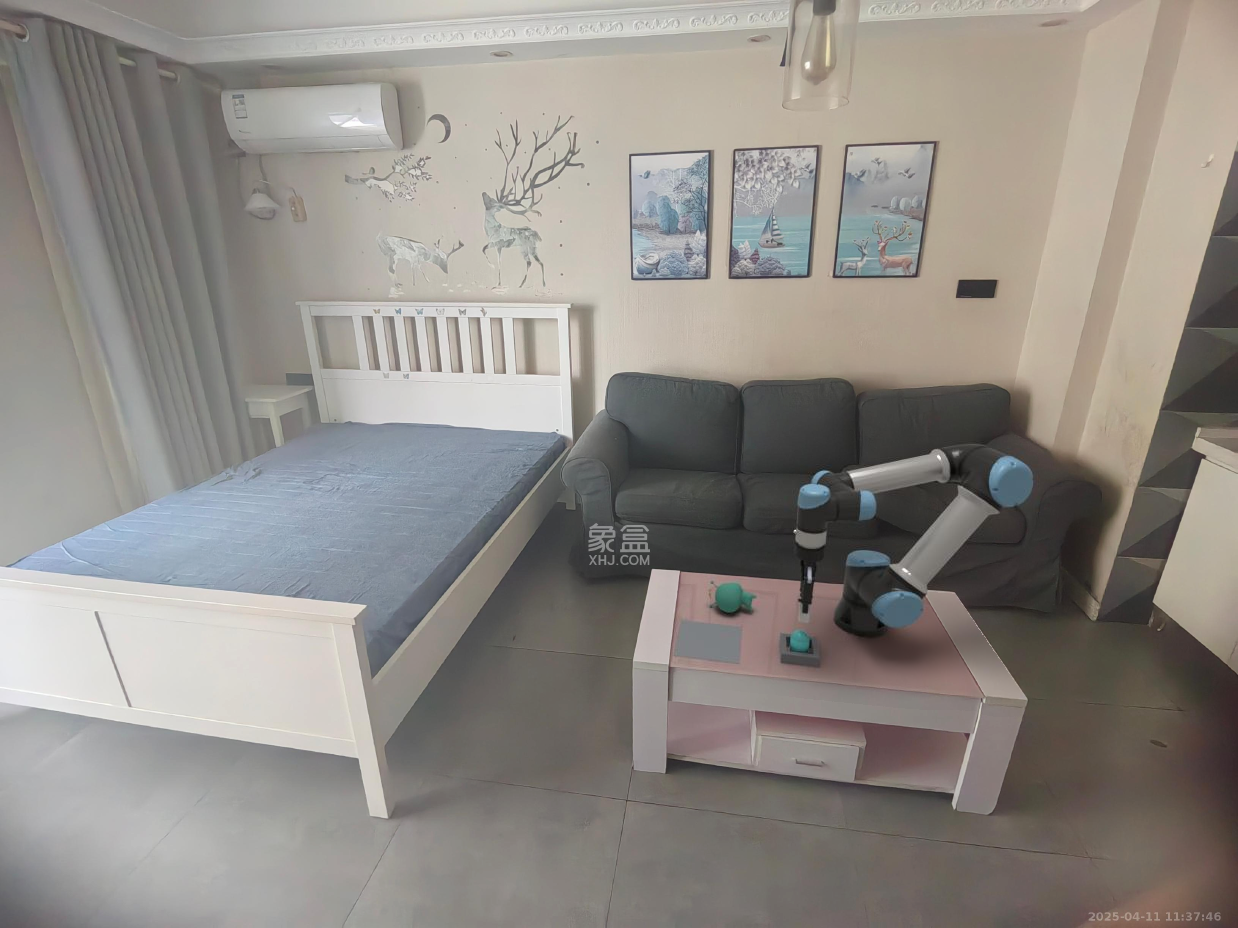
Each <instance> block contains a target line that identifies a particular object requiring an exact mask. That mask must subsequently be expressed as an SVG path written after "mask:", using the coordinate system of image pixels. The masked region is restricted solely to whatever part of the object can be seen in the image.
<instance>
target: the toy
mask: <svg viewBox="0 0 1238 928" xmlns="http://www.w3.org/2000/svg"><path fill="white" fill-rule="evenodd" d="M709 583H710V584H712V585H714V587H716V590H715V594H714V601H715V602H713V603H710V604H709V607H710V608H712V607H713V605H717V607H718V608H719V609H720V610H721V611H722V612H725V613H729V614H730V613H734V612H736V611H738V610H739V608H741V606H744V607H745V608H746V609H748V610H749V611H750V612H753V610H754V608H753V607H752V603H753V599H756V598H757V595H755V594H753V593H750V592H746V591H745V589H743V587H742V585H741V583H740V582H738V581H730V582H724V583H721V584H719V585H716V584H715V582H714V580H711V581H710V582H709ZM707 591H708V596H709V599H710V600H711V599H712V597H711V596H712V593H711V591H712V589H711V588H709V589H708V590H707Z"/></svg>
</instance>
